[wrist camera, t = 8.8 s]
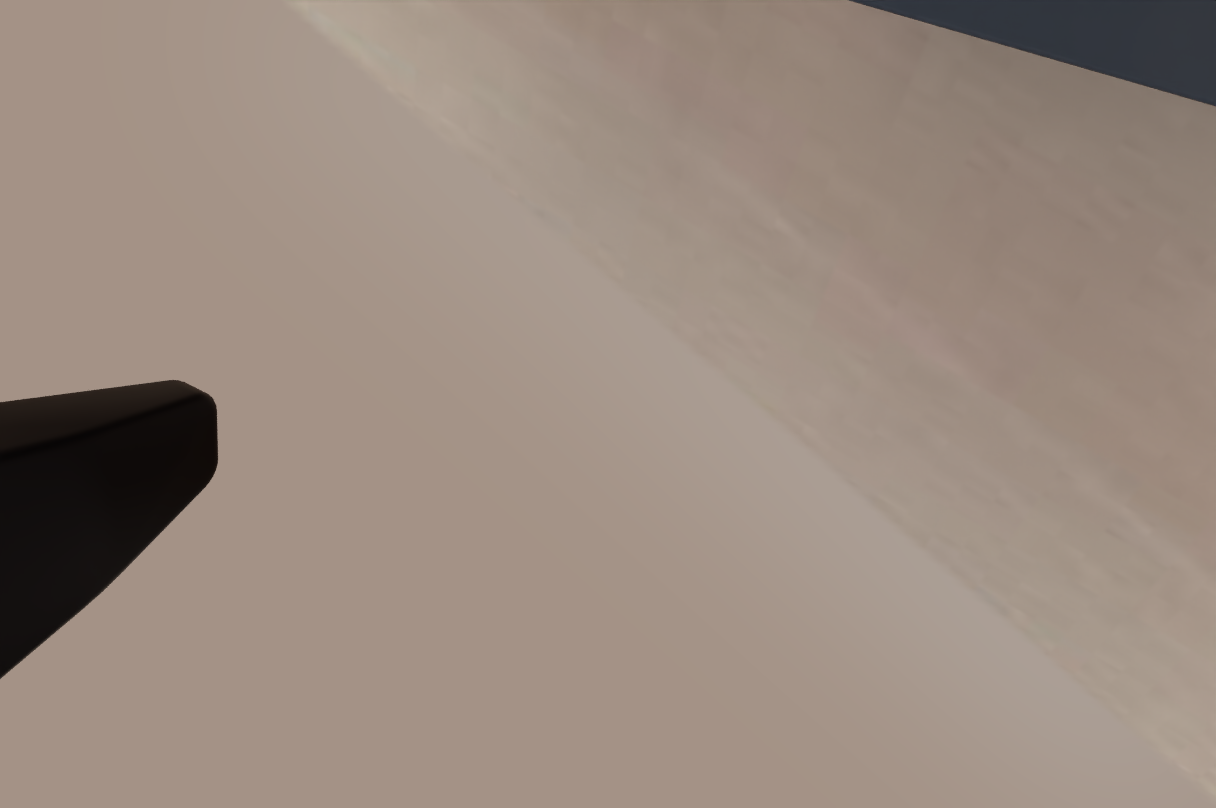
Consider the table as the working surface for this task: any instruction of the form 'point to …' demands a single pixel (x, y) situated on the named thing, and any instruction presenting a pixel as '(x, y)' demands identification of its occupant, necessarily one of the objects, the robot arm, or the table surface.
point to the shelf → (1093, 35)
